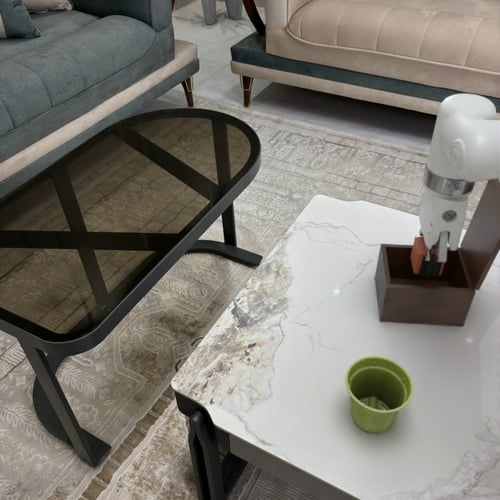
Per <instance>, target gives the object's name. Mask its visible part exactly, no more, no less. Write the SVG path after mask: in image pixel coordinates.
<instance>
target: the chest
mask: <svg viewBox="0 0 500 500" xmlns="http://www.w3.org/2000/svg"><path fill="white" fill-rule="evenodd" d="M412 248H413V244H397V243H396V244H395V243H394V244H393V243H380V246H379V252H378V258H377V263H376V268H375V274H374V283H375V284H374V285H375V293H376V300H377V301H376V302H377V310H378V318H379V322H380V323H381V322H383V323H397V324H398V323H399V324H413V325H430V326H431V325H432V326H444V327H460V328H461V327H462V328H463V327H464V325H465V322H466V320H467V317H468V314H469V312H470V309H471V306H472V303H473V300H474V298H475V295H476V292H477V290H474V287H473V284H472V281H471V277H470V274H469V271H468V268H467V265H466V262H465V259H464V256H463V253H462V250H461V246H460V247H459V246H458V248H457V249H456V250H455V251H453V250H450V247H449V246H447V259H446V262H445V263H444V267H443V270H442V273H441V275H439V276H438V277H424V276H420V275H419V274H414V272H413V267H412V262H411V257H410V256H411V252H412Z"/></svg>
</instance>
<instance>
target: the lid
mask: <svg viewBox="0 0 500 500" xmlns="http://www.w3.org/2000/svg"><path fill="white" fill-rule="evenodd" d="M459 246H460V247H461V250H462V253H463V256H464V259H465V262H466V265H467V268H468V271H469V274H470V277H471V281H472V284H473V287H474V290H475V291H480V290H481V287H482V285H483V284H484V281H485V279H486V278H487V275H488V274H489V272H490V270H491V268H492V266H493V264H494V262H495V260H496V258H497V256H498V254H499V253H500V178H498V179H492V180H487V183H486V185H485V188H484V190H483V192H482V194H481V196H480V199H479V201H478V203H477V205H476V207H475V210H474V213H473V215H472V217H471V219H470V221H469V224H468V226H467V228H466V231H465V232H464V235H463V237H462V240H461V242H460V243H459Z"/></svg>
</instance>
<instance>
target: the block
mask: <svg viewBox="0 0 500 500" xmlns="http://www.w3.org/2000/svg"><path fill="white" fill-rule="evenodd" d="M437 243H438V242H437ZM412 245H413V248H412V252H411V256H410V257H411V262H412V267H413V272H414V274H419V271H420V267H421V263H422V259H423V257H425V256H426V250H427V246H426V245H425V241H424V237H422V236H414V240H413V244H412ZM431 254H437V249H432V251H431ZM444 263H445V262H442V266H441V269H440V273H439V275H441V273H442V270H443V267H444Z"/></svg>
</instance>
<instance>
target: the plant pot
mask: <svg viewBox="0 0 500 500" xmlns="http://www.w3.org/2000/svg"><path fill="white" fill-rule="evenodd" d="M344 381H345V388H346V390H347V393H348V394H349V396H350V409H351V417H352V420H353V422H354V424H356V426H357V427H358V428H360V429H361V430H363V431H364V432H368V433H369V432H370V433H373V434H381V433H384V432H386V431H387V430H388V429H389V428H390V427H391V426H392V424H393V422H394V421H395V419H396V417H397V415H398V413H400V411H401V410H403V409H405V408H406V407H407V406H408V405H409V403H410V402H411V400H412V398H413V395H414V383H413V380H412V377H411V375H410V374H409V372H408V371H407V370H406V368H404V367H403V366H402V365H400V364H399V363H398V362H396V361H395V360H393V359H391V358H389V357H385V356H380V355H369V356H368V355H367V356H364V357H361V358H358V359H357V360H355V361H354V362H353V363H351V364H350V365H349V367H348V368H347V370H346V373H345V377H344ZM363 402H364V403H363Z"/></svg>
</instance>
